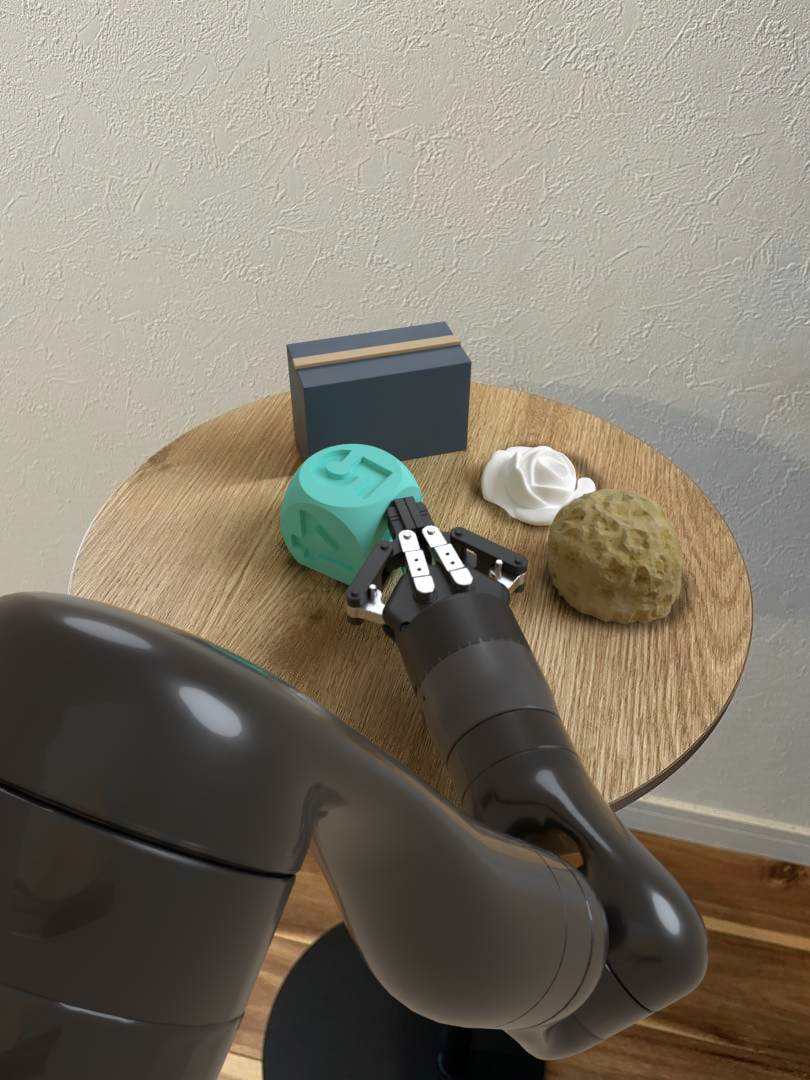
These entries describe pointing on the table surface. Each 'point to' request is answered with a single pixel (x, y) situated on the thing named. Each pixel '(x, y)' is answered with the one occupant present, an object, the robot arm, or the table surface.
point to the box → (382, 391)
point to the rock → (615, 556)
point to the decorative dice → (342, 507)
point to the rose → (532, 483)
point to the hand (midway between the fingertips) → (402, 507)
